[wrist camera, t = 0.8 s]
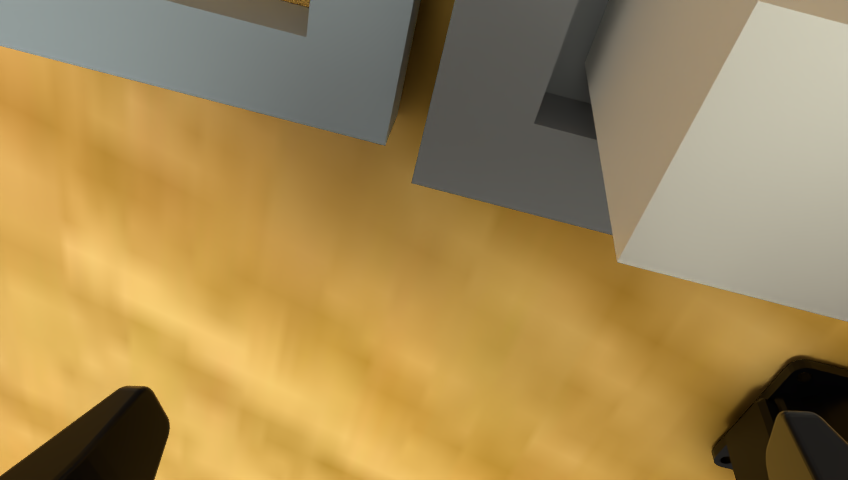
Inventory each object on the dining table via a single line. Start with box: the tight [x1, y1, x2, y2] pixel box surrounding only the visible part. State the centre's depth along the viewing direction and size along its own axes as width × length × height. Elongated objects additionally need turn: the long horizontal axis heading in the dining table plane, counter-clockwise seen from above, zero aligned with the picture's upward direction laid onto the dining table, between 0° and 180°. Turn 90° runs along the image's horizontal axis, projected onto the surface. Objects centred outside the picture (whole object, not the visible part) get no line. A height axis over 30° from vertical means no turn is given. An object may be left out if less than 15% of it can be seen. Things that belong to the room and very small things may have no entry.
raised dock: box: [412, 0, 613, 235], centre depth 14 cm, size 11×11×4 cm
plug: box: [585, 0, 848, 322], centre depth 11 cm, size 4×4×8 cm
